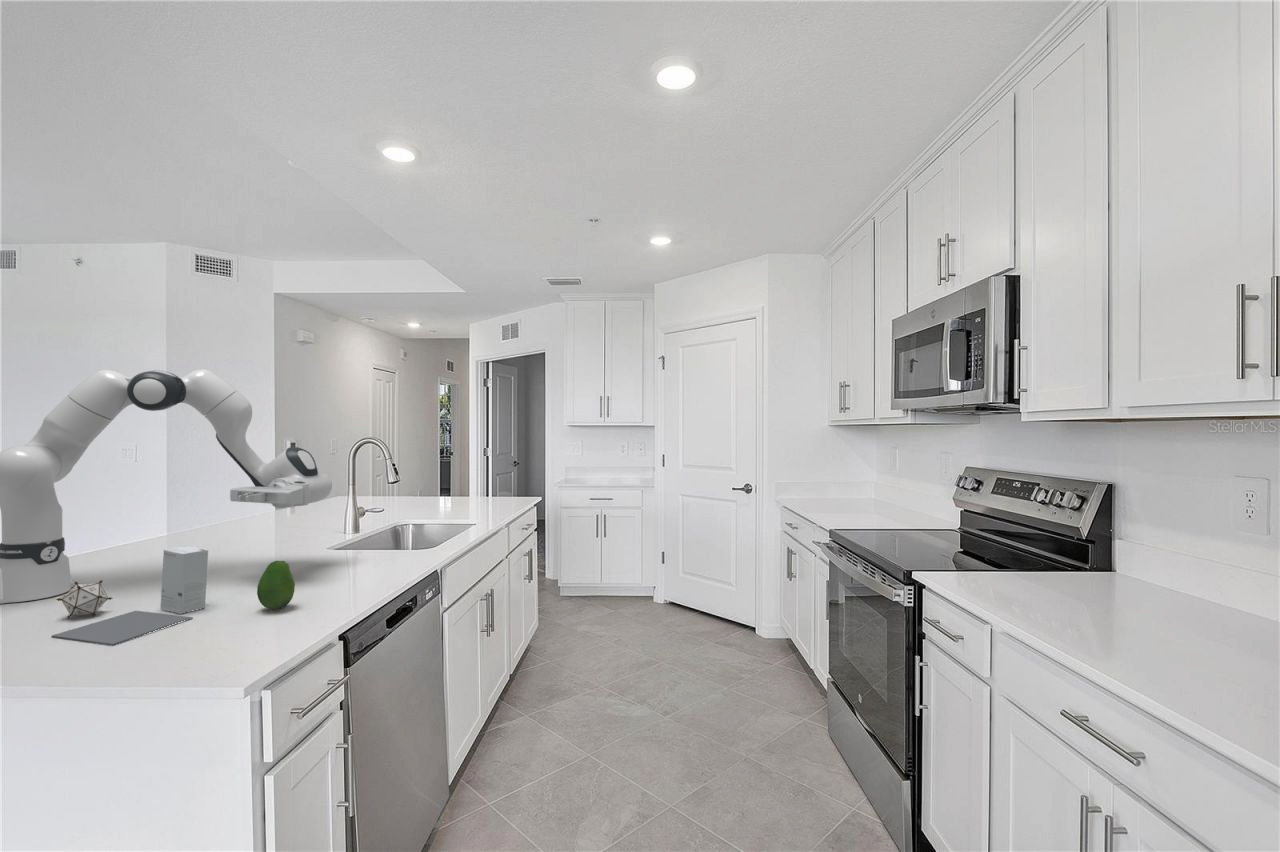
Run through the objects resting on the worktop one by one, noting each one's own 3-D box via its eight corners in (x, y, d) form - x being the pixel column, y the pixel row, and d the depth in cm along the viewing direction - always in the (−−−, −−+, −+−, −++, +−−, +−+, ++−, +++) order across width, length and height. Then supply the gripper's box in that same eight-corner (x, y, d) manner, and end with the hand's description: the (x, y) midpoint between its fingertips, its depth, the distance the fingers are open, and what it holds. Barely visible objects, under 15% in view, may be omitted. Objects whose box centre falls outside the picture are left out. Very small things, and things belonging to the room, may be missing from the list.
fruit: (250, 615, 142) (250, 565, 142) (265, 604, 150) (266, 557, 150) (286, 614, 144) (286, 564, 143) (299, 603, 151) (300, 556, 151)
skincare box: (159, 610, 145) (160, 549, 144) (186, 603, 150) (186, 544, 150) (182, 615, 142) (182, 552, 141) (208, 607, 147) (208, 547, 147)
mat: (51, 637, 126) (51, 635, 126) (135, 612, 143) (135, 610, 143) (113, 645, 123) (113, 643, 123) (192, 619, 139) (192, 617, 139)
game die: (85, 633, 139) (69, 607, 133) (58, 618, 140) (41, 591, 134) (125, 605, 146) (112, 579, 140) (99, 590, 147) (85, 564, 141)
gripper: (255, 480, 177) (211, 485, 164) (313, 483, 172) (273, 488, 159) (255, 501, 177) (211, 508, 164) (313, 505, 172) (273, 512, 159)
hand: (242, 498), depth 161 cm, fingers closed
